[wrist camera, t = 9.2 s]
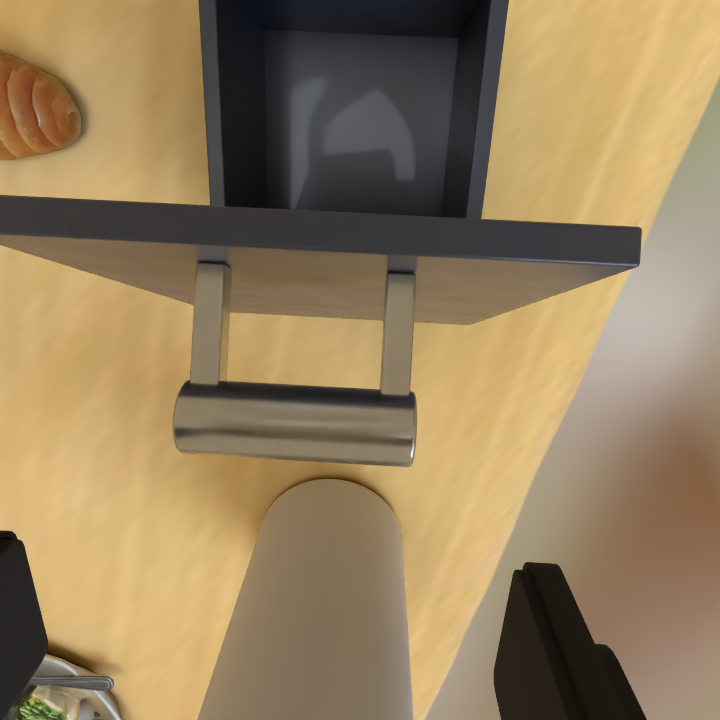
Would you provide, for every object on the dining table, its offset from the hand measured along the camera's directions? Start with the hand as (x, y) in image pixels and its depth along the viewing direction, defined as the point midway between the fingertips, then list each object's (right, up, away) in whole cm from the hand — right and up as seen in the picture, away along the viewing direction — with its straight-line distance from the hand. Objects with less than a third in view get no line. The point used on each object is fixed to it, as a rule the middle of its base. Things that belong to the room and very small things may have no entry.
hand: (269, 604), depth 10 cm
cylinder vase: (-1, -11, +36) cm, 37 cm away
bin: (+2, +18, +25) cm, 31 cm away
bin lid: (+1, +8, +8) cm, 11 cm away
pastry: (-22, +22, +24) cm, 39 cm away
